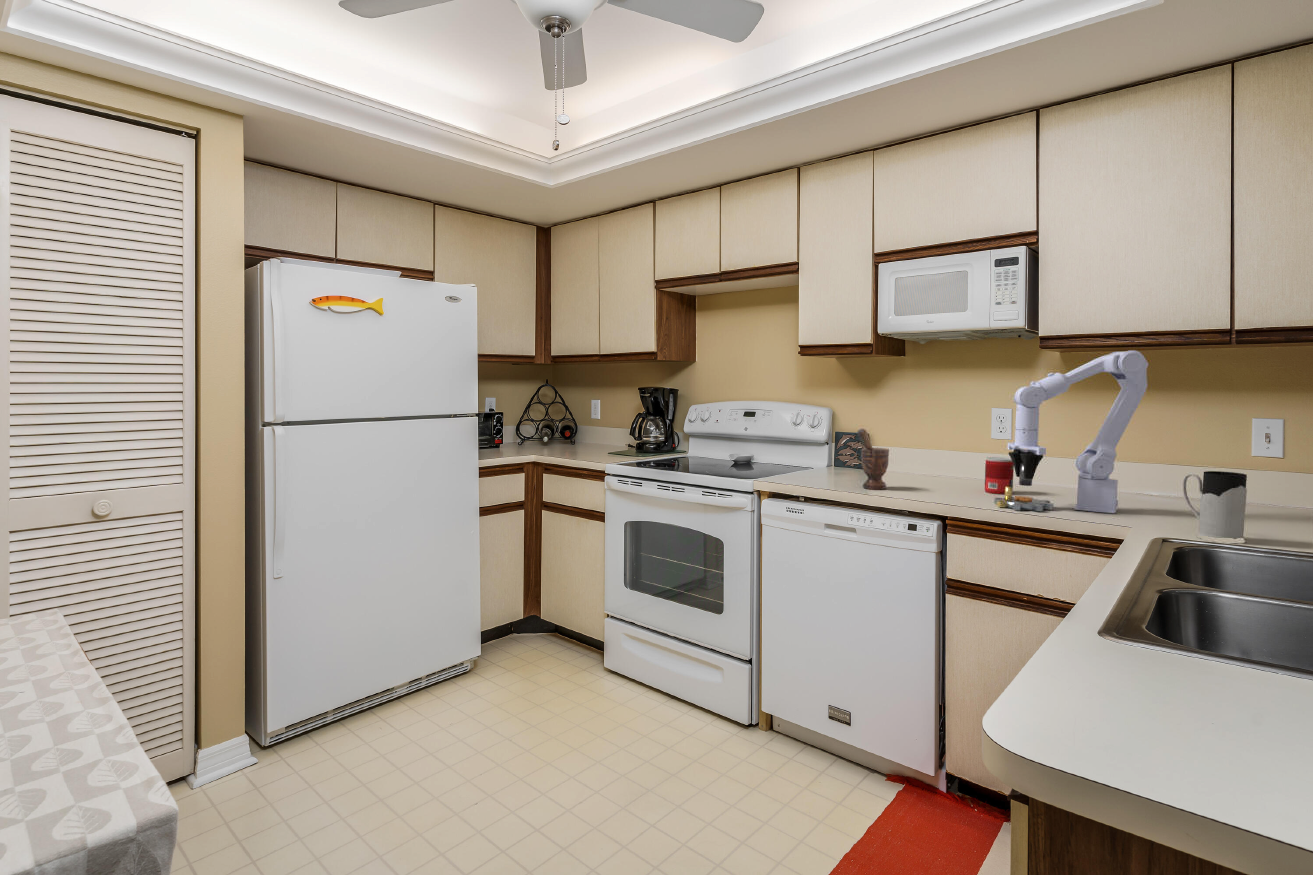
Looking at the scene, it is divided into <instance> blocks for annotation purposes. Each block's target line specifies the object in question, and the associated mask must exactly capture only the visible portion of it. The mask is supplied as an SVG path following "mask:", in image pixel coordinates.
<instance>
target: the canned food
mask: <svg viewBox="0 0 1313 875" xmlns="http://www.w3.org/2000/svg"><path fill="white" fill-rule="evenodd" d="M984 464H985V465H984V466H985V468H984V491H985V493H987V494H990V495H991V494H992V495H1004V496H1005V487H1007V486H1008V487H1012V492H1013V489H1014V473H1015V472H1014V471H1015V468H1014V464H1013V462H1012V459H1011V457H1003V456H987V457H985V463H984Z"/></svg>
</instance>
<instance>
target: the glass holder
mask: <svg viewBox="0 0 1313 875" xmlns="http://www.w3.org/2000/svg"><path fill="white" fill-rule="evenodd" d="M1191 476H1193V477H1195V478H1196V479H1197V483H1198V492H1199V494H1200V506H1199V507H1200V508H1199V513H1198V512H1197V510H1195V508H1194V506H1193V505H1192V503H1191V502H1190V500H1189V496H1188V493H1187V481H1188V479H1189V477H1191ZM1202 476H1203V478H1201V477H1200V475H1197V474H1194V473H1191V474H1190V473H1189V474H1187V475H1185V476H1184V477H1183V480H1182V491H1183V498H1184V500H1185V502H1186V504H1187V506H1188V508H1189V509H1190V510H1191V511H1192V513H1193V515H1195V517H1197V519H1198V520H1199V521H1198V531H1197V533H1198V534H1200V535H1203V536H1208V537H1214V538H1233V539H1237V538H1244V539H1245V537H1244V536H1245V534H1244V531H1245V518H1246V505H1247V492H1248V489H1247V478H1248V476H1247V474H1246V473H1242V472H1241V473H1240V472H1235V471H1234V472H1233V471H1220V470H1218V471H1216V470H1210V471H1209V470H1207V471H1203V475H1202Z"/></svg>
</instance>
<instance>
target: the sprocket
mask: <svg viewBox="0 0 1313 875" xmlns="http://www.w3.org/2000/svg"><path fill="white" fill-rule="evenodd" d="M993 504H996V507H998V508H1009V509H1012V510H1014V511H1022V510H1026V511H1034V512H1043V510H1051V511H1052V510H1054V503H1053V502H1052V503H1051V501H1050V500H1048V499H1037V498H1034V497H1032V496H1026V495H1025V496H1024V495H1015V496H1013V491H1012V487H1008V486H1007V487H1005V495H1004V497H994V503H993Z"/></svg>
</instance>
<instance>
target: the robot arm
mask: <svg viewBox="0 0 1313 875" xmlns="http://www.w3.org/2000/svg"><path fill="white" fill-rule="evenodd" d="M1148 367H1149V363H1148V361H1147V359H1146V358H1145V356H1144V355H1143V354H1142V353H1141V352H1140V351H1139V350H1133V349H1132V350H1127V351H1113V352H1111V353H1109V354H1105V355H1102V356H1100V357H1097V358H1094V359H1092V360H1091V361H1089V362H1087V363H1085V364H1082V365H1081V366H1078V367H1076V368H1074V369H1072V370H1070V371H1068V372H1066V373H1061V372H1056V373H1054V372H1049V373H1048V374H1047V376H1046V377H1044V378H1042V379H1040V380H1038V381H1035V380H1034V381H1031V382H1030V384H1029V386H1022V387H1019V389H1017V390H1016V392H1015V393H1014V395H1013V396H1012V397H1013V401H1014V403H1015V404H1016V411H1015V426H1014V427H1015V428H1014V430H1015V431H1014V432H1015V433H1014V442H1007V447H1006V449H1007V450H1010V451H1008V456H1009V458H1011V459H1012V462H1013V464H1014V471H1015V472H1014V473H1015V476H1016V477H1017V478H1019V476H1020V463H1023V468H1024V478H1025V479H1032V480H1033V479H1034V476H1035V473H1036V470H1037V468H1038V466H1039V464H1040V462H1041V461H1042V459H1043V458H1044V456H1046V454H1047V447H1044V446H1043V447H1042V446H1040V445H1039V444H1038V443H1039V430H1040V429H1039V427H1040V406H1041V405H1042V403H1043V402H1045V401H1048V400H1050V399H1052V398H1055V397H1057V396H1059V395H1061V394H1063V393H1067V392H1068V390H1069V389H1070V387H1071V385H1073V384H1076V383H1077V382H1080V381H1082V380H1085V379H1087V378H1090V377H1092V376H1094V375H1097V374H1100V373H1109V374H1110V375H1111V376H1112V377H1113V378H1115V379H1116V382H1117V383H1118V385H1119V387H1120V391H1119V393H1117V394H1118V395H1117V397H1116V398H1115V401H1114V402H1113V404H1112V406H1111V407H1110V410H1109V412H1108V414H1107V415H1106V417H1105V420H1104V421H1103V423H1102V425H1101V427H1100V428H1099V431H1098V433H1097V434H1096V435H1095V438H1094V440H1093V441H1092V442H1091V443H1090V444H1088V445H1086V448H1085V449H1084V451H1083V452H1082V453H1080V454H1079V455H1077V457H1076V459H1075V467H1076V469H1077V470H1078V471H1079V473H1078V476H1077V491H1076V492H1077V494H1076V495H1077V496H1076V504H1075V505H1074V507H1073V510H1076V511H1083V512H1084V511H1087V512H1096V513H1106V514H1116V511H1117V508H1118V507H1119V500H1118V484H1119V482H1118V481H1119V480H1118V479H1115V478H1114V479H1113V478H1110V475H1111V474H1112V473H1113V472H1114V470H1115V460H1116V458H1117V451H1116V448H1117V446H1118V444H1119V443H1120V440H1121V438H1122V436H1123V435H1124V433H1125V431H1126V429H1127V427H1128V426H1129V423H1130V422H1131V420H1132V418H1133V416H1134V414H1135V412H1136V410H1137V409H1138V406H1139V404H1140V403H1141V401H1142V398H1143V397H1144V395H1145V393H1146V392H1147V388H1148V378H1147V377H1148V375H1147V369H1148Z"/></svg>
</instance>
